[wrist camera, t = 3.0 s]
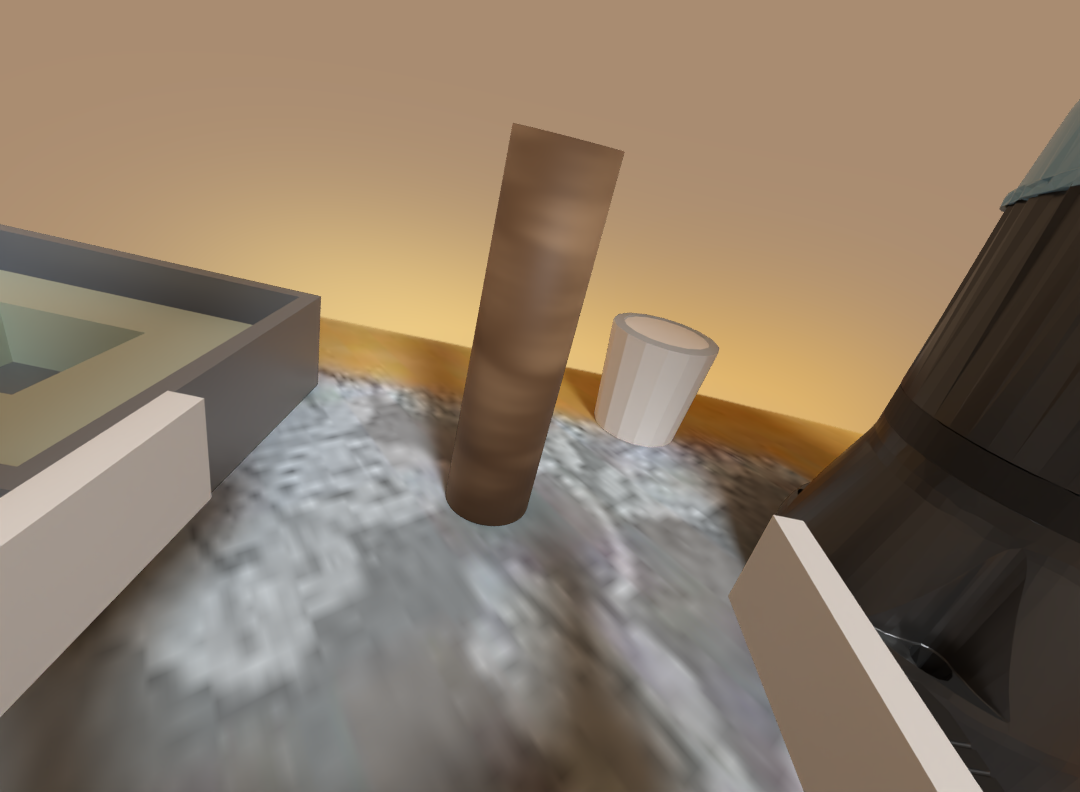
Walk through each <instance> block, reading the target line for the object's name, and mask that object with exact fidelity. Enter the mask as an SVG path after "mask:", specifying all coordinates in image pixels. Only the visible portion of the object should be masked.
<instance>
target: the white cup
mask: <svg viewBox="0 0 1080 792" xmlns="http://www.w3.org/2000/svg"><path fill="white" fill-rule="evenodd" d="M718 351H719V347H718V346H717V344H716V343H715V342H714V341H713V340H712V339H710V338H708V337H707V336H705V335H703V334H702V333H700V332H698V331H696V330H694V329H692V328H689V327H687V326H685V325H683V324H680V323H676V322H674V321H671V320H667V319H664V318H660V317H655V316H651V315H647V314H637V313H623V314H618V315H617V316H616V317H615V318H614V320H613V325H612V330H611V334H610V339H609V344H608V349H607V354H606V359H605V363H604V368H603V373H602V378H601V383H600V387H599V392H598V397H597V402H596V407H595V411H594V415H595V419H596V422H597V423H598V424H599V425H600V426H601V427H602V428H603V429H604V430H605V431H607V432H608V433H610V434H611V435H613V436H614V437H616V438H618V439H621V440H623V441H626V442H628V443H631V444H634V445H639V446H644V447H663V446H665V445H667V444H669V443H671V441H672V439H673V437H674V435H675V434H676V432H677V430H678V428H679V426H680V424H681V422H682V420H683V418H684V417H685V415H686V413H687V411H688V409H689V407H690V405H691V403H692V401H693V400H694V398H695V396H696V394H697V392H698V390H699V388H700V386H701V384H702V382H703V381H704V379H705V377H706V375H707V373H708V371H709V369H710V367H711V366H712V364H713V361H714V360H715V358H716V356H717V354H718Z"/></svg>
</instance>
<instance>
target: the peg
mask: <svg viewBox="0 0 1080 792" xmlns="http://www.w3.org/2000/svg"><path fill="white" fill-rule="evenodd" d="M623 156H624V151H620V150H617V149H613V148H610V147H606V146H602V145H599V144H595V143H591V142H587V141H584V140H580V139H576V138H572V137H569V136H564V135H561V134H557V133H553V132H549V131H544V130H541V129H537V128H533V127H528V126H524V125H520V124H515V123H513V125H512V131H511V136H510V142H509V147H508V153H507V158H506V164H505V169H504V175H503V180H502V186H501V191H500V197H499V202H498V208H497V214H496V219H495V224H494V230H493V235H492V241H491V247H490V252H489V257H488V263H487V268H486V274H485V279H484V285H483V291H482V296H481V302H480V307H479V313H478V318H477V324H476V329H475V335H474V340H473V346H472V351H471V357H470V362H469V368H468V373H467V379H466V384H465V390H464V395H463V401H462V406H461V412H460V417H459V423H458V428H457V434H456V439H455V445H454V450H453V456H452V461H451V467H450V472H449V478H448V483H447V489H446V499H447V502H448V504H449V505H450V507H451V508H452V509H453V511H455V512H456V513H457V514H458V515H459V516H461V517H463V518H464V519H466V520H468V521H471V522H474V523H477V524H481V525H487V526H501V525H507V524H510V523H513V522H515V521H517V520H518V519H520V518H521V517H522V516H523V515H524V513H525V512H526V509H527V506H528V502H529V499H530V495H531V491H532V488H533V484H534V480H535V477H536V473H537V469H538V466H539V462H540V458H541V455H542V451H543V448H544V444H545V440H546V437H547V433H548V429H549V426H550V422H551V418H552V415H553V411H554V407H555V404H556V400H557V396H558V393H559V389H560V386H561V382H562V378H563V375H564V371H565V367H566V364H567V360H568V356H569V353H570V349H571V345H572V342H573V338H574V335H575V331H576V327H577V323H578V320H579V316H580V313H581V309H582V305H583V301H584V298H585V294H586V291H587V287H588V283H589V280H590V276H591V272H592V269H593V265H594V261H595V258H596V254H597V250H598V247H599V243H600V239H601V236H602V232H603V229H604V225H605V222H606V218H607V214H608V211H609V207H610V203H611V199H612V196H613V192H614V189H615V185H616V181H617V178H618V174H619V170H620V167H621V163H622V160H623Z"/></svg>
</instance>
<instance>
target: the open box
mask: <svg viewBox="0 0 1080 792" xmlns="http://www.w3.org/2000/svg"><path fill="white" fill-rule="evenodd" d="M320 305H321V297H320V296H317V295H313V294H308V293H304V292H299V291H294V290H290V289H286V288H281V287H277V286H272V285H268V284H264V283H259V282H255V281H250V280H246V279H241V278H237V277H232V276H228V275H224V274H219V273H214V272H210V271H206V270H201V269H197V268H192V267H188V266H183V265H179V264H175V263H170V262H166V261H161V260H157V259H152V258H148V257H143V256H139V255H135V254H130V253H126V252H121V251H117V250H112V249H108V248H104V247H99V246H95V245H90V244H86V243H81V242H77V241H72V240H68V239H64V238H59V237H55V236H50V235H46V234H41V233H37V232H32V231H28V230H23V229H19V228H14V227H10V226H5V225H1V224H0V498H1V497H2V496H4V495H6V494H7V493H9V492H10V491H12V490H13V489H15V488H16V487H18V486H20V485H21V484H23V483H24V482H26V481H27V480H29V479H31V478H32V477H34V476H35V475H37V474H38V473H40V472H41V471H43V470H45V469H46V468H48V467H49V466H51V465H52V464H54V463H56V462H57V461H59V460H60V459H62V458H63V457H65V456H66V455H68V454H70V453H71V452H73V451H74V450H76V449H77V448H79V447H80V446H82V445H84V444H85V443H87V442H88V441H90V440H91V439H93V438H95V437H96V436H98V435H99V434H101V433H102V432H104V431H105V430H107V429H109V428H110V427H112V426H113V425H115V424H116V423H118V422H120V421H121V420H123V419H124V418H126V417H127V416H129V415H130V414H132V413H134V412H135V411H137V410H138V409H140V408H141V407H143V406H145V405H146V404H148V403H149V402H151V401H152V400H154V399H155V398H157V397H159V396H160V395H162V394H163V393H165V392H166V391H171V392H176V393H181V394H186V395H191V396H196V397H201V398H204V403H205V417H206V430H207V444H208V457H209V471H210V484H211V492H212V491H213V490H214V489H215V488H216V487H217V486H218V485H219V484H220V483H221V482H222V481H223V480H224V479H225V478H226V477H227V476H228V475H229V474H230V473H231V472H232V471H233V470H234V469H235V468H236V467H237V466H238V465H239V464H240V463H241V462H242V461H243V460H244V459H245V458H246V457H247V456H248V455H249V454H250V453H251V452H252V450H253V449H254V448H255V447H256V446H257V445H258V444H259V443H260V442H261V441H262V440H263V439H264V438H265V437H266V436H267V435H268V434H269V433H270V432H271V431H272V430H273V429H274V428H275V427H276V426H277V425H278V424H279V423H280V422H281V421H282V420H283V419H284V418H285V417H286V416H287V415H288V414H289V413H290V412H291V411H292V410H293V409H294V408H295V407H296V406H297V405H298V404H299V403H300V402H301V401H302V400H303V399H304V398H305V397H306V396H307V395H308V394H309V393H310V392H311V391H312V390H313V389H314V388H315V387H316V386H317V385H318V360H319V333H320Z"/></svg>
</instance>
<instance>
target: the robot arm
mask: <svg viewBox="0 0 1080 792" xmlns="http://www.w3.org/2000/svg"><path fill="white" fill-rule="evenodd" d="M1000 210H1001V211H1003V212H1004V213H1003V215H1002V217H1001V218H1000V220H999V222H998V223H997V225H996V227H995V228H994V230H993V232H992V233H991V235H990V237H989V238H988V240H987V242H986V243H985V245H984V247H983V248H982V250H981V252H980V253H979V255H978V257H977V258H976V260H975V262H974V263H973V265H972V267H971V268H970V270H969V272H968V274H967V275H966V277H965V278H964V280H963V282H962V283H961V285H960V287H959V288H958V290H957V292H956V293H955V295H954V297H953V298H952V300H951V302H950V303H949V305H948V307H947V308H946V310H945V312H944V313H943V315H942V317H941V318H940V320H939V322H938V323H937V325H936V327H935V328H934V330H933V331H932V333H931V335H930V336H929V338H928V339H927V341H926V343H925V344H924V346H923V348H922V349H921V351H920V353H919V354H918V355H917V357H916V359H915V360H914V362H913V363H912V365H911V367H910V368H909V370H908V372H907V373H906V375H905V376H904V378H903V380H902V382H901V384H900V385H899V387H898V389H897V390H896V392H895V393H894V395H893V397H892V398H891V400H890V402H889V403H888V405H887V406H886V408H885V410H884V411H883V413H882V415H881V416H880V418H879V419H878V421H877V422H876V423H875V424H874V426H873V427H872V428H871V429H870V430H869V431H867V432H866V433H865V434H864V435H863V436H862V437H860V438H859V439H858V440H857V441H856V442H855V443H854V444H852V445H851V446H850V447H849V448H848V449H847V450H846V451H844V452H843V453H842V454H841V455H840V456H839V457H837V458H836V459H835V460H834V461H833V462H832V463H831V464H830V465H829V466H827V467H826V468H825V469H824V470H823V471H822V472H821V473H820V474H819V475H818V476H817V477H816V478H815V479H814V480H813V481H812V482H810V483H807V484H805V485H802V486H801V487H800V488H798V489H797V490H795V491H794V492H793V493H791V494H790V495H789V496H788V497H787V498H786V500H785V501H784V502H783V503H782V505H781V506H780V508H779V510H778V512H777V513H776V515H773V516H772V518H771V519H770V521H769V523H768V525H767V527H766V529H765V530H764V532H763V534H762V536H761V538H760V539H759V541H758V543H757V545H756V547H755V549H754V550H753V552H752V554H751V556H750V558H749V559H748V561H747V563H746V565H745V567H744V568H743V570H742V572H741V574H740V576H739V578H738V579H737V581H736V583H735V585H734V587H733V588H732V590H731V592H730V594H729V596H728V597H729V599H730V602H731V605H732V607H733V610H734V612H735V615H736V618H737V620H738V623H739V625H740V628H741V630H742V633H743V636H744V638H745V641H746V643H747V646H748V648H749V651H750V654H751V656H752V659H753V661H754V664H755V667H756V669H757V672H758V674H759V677H760V679H761V682H762V685H763V687H764V690H765V692H766V695H767V698H768V700H769V703H770V705H771V708H772V710H773V713H774V716H775V718H776V721H777V723H778V726H779V728H780V731H781V734H782V736H783V739H784V741H785V744H786V747H787V749H788V752H789V754H790V757H791V759H792V762H793V765H794V767H795V770H796V772H797V775H798V778H799V780H800V783H801V785H802V788H803V790H804V792H1080V100H1079V101H1078V102H1077V103H1076V104H1075V105H1074V107H1073V108H1072V109H1071V111H1070V112H1069V113H1068V115H1067V116H1066V118H1065V119H1064V121H1063V122H1062V124H1061V125H1060V127H1059V128H1058V129H1057V131H1056V132H1055V134H1054V135H1053V137H1052V139H1051V140H1050V141H1049V143H1048V144H1047V146H1046V147H1045V149H1044V150H1043V151H1042V153H1041V155H1040V156H1039V157H1038V159H1037V160H1036V162H1035V163H1034V165H1033V166H1032V168H1031V169H1030V170H1029V172H1028V173H1027V175H1026V176H1025V178H1024V179H1023V181H1022V182H1021V184H1020V185H1019V187H1018V188H1017V189H1015V190H1013V191H1012V192H1010V193H1008V195H1007V196H1006V197H1005V199H1004V200H1003V203H1002V205H1001V207H1000ZM210 499H211V484H210V471H209V457H208V444H207V430H206V417H205V403H204V398H201V397H196V396H191V395H186V394H181V393H176V392H171V391H166V392H165V393H163V394H162V395H160V396H159V397H157V398H155V399H154V400H152V401H151V402H149V403H148V404H146V405H145V406H143V407H141V408H140V409H138V410H137V411H135V412H134V413H132V414H130V415H129V416H127V417H126V418H124V419H123V420H121V421H120V422H118V423H116V424H115V425H113V426H112V427H110V428H109V429H107V430H105V431H104V432H102V433H101V434H99V435H98V436H96V437H95V438H93V439H91V440H90V441H88V442H87V443H85V444H84V445H82V446H80V447H79V448H77V449H76V450H74V451H73V452H71V453H70V454H68V455H66V456H65V457H63V458H62V459H60V460H59V461H57V462H56V463H54V464H52V465H51V466H49V467H48V468H46V469H45V470H43V471H41V472H40V473H38V474H37V475H35V476H34V477H32V478H31V479H29V480H27V481H26V482H24V483H23V484H21V485H20V486H18V487H16V488H15V489H13V490H12V491H10V492H9V493H7V494H6V495H4V496H2V497H1V498H0V717H1V716H2V715H3V714H4V713H5V712H6V711H7V710H8V709H9V708H10V707H11V705H12V704H13V703H14V702H15V701H16V700H17V699H18V698H19V697H20V696H21V695H22V694H23V693H24V692H25V691H26V690H27V689H28V688H29V687H30V686H31V685H32V684H33V683H34V682H35V681H36V680H37V679H38V677H39V676H40V675H41V674H42V673H43V672H44V671H45V670H46V669H47V668H48V667H49V666H50V665H51V664H52V663H53V662H54V661H55V660H56V659H57V658H58V657H59V656H60V655H61V654H62V653H63V652H64V651H65V649H66V648H67V647H68V646H69V645H70V644H71V643H72V642H73V641H74V640H75V639H76V638H77V637H78V636H79V635H80V634H81V633H82V632H83V631H84V630H85V629H86V628H87V627H88V626H89V625H90V624H91V623H92V621H93V620H94V619H95V618H96V617H97V616H98V615H99V614H100V613H101V612H102V611H103V610H104V609H105V608H106V607H107V606H108V605H109V604H110V603H111V602H112V601H113V600H114V599H115V598H116V597H117V596H118V595H119V593H120V592H121V591H122V590H123V589H124V588H125V587H126V586H127V585H128V584H129V583H130V582H131V581H132V580H133V579H134V578H135V577H136V576H137V575H138V574H139V573H140V572H141V571H142V570H143V569H144V568H145V567H146V565H147V564H148V563H149V562H150V561H151V560H152V559H153V558H154V557H155V556H156V555H157V554H158V553H159V552H160V551H161V550H162V549H163V548H164V547H165V546H166V545H167V544H168V543H169V542H170V541H171V540H172V539H173V537H174V536H175V535H176V534H177V533H178V532H179V531H180V530H181V529H182V528H183V527H184V526H185V525H186V524H187V523H188V522H189V521H190V520H191V519H192V518H193V517H194V516H195V515H196V514H197V513H198V512H199V510H200V509H201V508H202V507H203V506H204V505H205V504H206V503H207V502H208V501H209V500H210Z"/></svg>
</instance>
